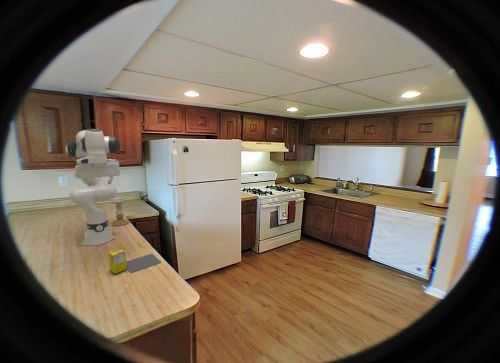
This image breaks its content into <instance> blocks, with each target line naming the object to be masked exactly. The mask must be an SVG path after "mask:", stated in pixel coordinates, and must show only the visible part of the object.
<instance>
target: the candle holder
mask: <svg viewBox="0 0 500 363" xmlns="http://www.w3.org/2000/svg"><path fill="white" fill-rule="evenodd" d="M126 201H127V200H126V199H115V200H113V199H112V200H111V204H115V205H116V207H115V209H116V210H115V211H116V212H115V215H116V216H115V218H116V220H114V221H113V222H112V223H111V226H113V227H122V226H126V225H128V224H129V220H128V219H124V216H125V215H124V211H123V206H122V204H123V203H125V202H126Z"/></svg>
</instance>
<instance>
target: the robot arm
mask: <svg viewBox="0 0 500 363" xmlns="http://www.w3.org/2000/svg"><path fill="white" fill-rule="evenodd" d="M64 149H65V152H66V154H67V155H68V156H69V157H71V158H78V159H76V161H75V162H76V165H75V166H74V177H75V178H76V179H79V180H81V182H83V184H85V185H86V186H80V187H76V188H72V189H71V191H70V192H69V199H70V201H71V202H72V203H74V204H76V205H77V206H80V207H81V208H82V209H83V210H84V212H85V213H84V214H85V216H86V222H87V223H86V231H85V232H83V241H82V246H98V245H99V246H100V245H104V244H107V243H109V242H111V241H112V240H114V239H115V238H116V236H115V235H114V234H113V232H112V228H111V226H109V220H108V216H107V210H106V208H104V207H102V206H101V205H100V206H99V205H96V204H95V203H99V202H105V201H110V200H113V199H115V198H116V196H117V194H118V192H117V188H116V186H114V185H113V184H112V181H113V180H114V177H116V176H117V177H119V176H120V174H121V170H120V161H119V160H118V159H111V158H110V159H107V158H108V156H107V154H114V155H115V154H117V153H118V152H119V151H120V149H121V143H120V141H119V139H118V138H117V137H116V136H114V135H113V136H112V135H111V136H105V135H104V133H103V130H102V129H99V128H87V129H84V130H81V131H79V132H78V133H77V134H76V135H75V139H72V140H71V141H68V142H67V143H66V146H65V148H64ZM104 177H109V178H110V179H109V180H107V181H105V180H104V179H103V178H104Z"/></svg>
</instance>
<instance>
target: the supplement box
mask: <svg viewBox="0 0 500 363" xmlns="http://www.w3.org/2000/svg"><path fill="white" fill-rule="evenodd" d="M108 259H109V260H108V261H109V268H110V270H109V271H110V272H111V274H113V275H114V276H115V275H119V274H121V273H123V272H125V271H127V268H126V251H125V250H124V249H122V248H117V249H114V250H111V251H108Z"/></svg>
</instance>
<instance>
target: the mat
mask: <svg viewBox="0 0 500 363" xmlns="http://www.w3.org/2000/svg"><path fill="white" fill-rule="evenodd" d="M161 263H162V261H161V260H160V259H158V257H157V256H156V255H155V254H153V253H149V254H146V255H142V256H139V257H136V258H134V259H131V260H129V259H128V260H127V261H126V270H127V271H128V272H129V273H130V274H132V273H136V272H139V271H142V270H145V269H147V268H150V267H152V266H156V265H158V264H161Z"/></svg>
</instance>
